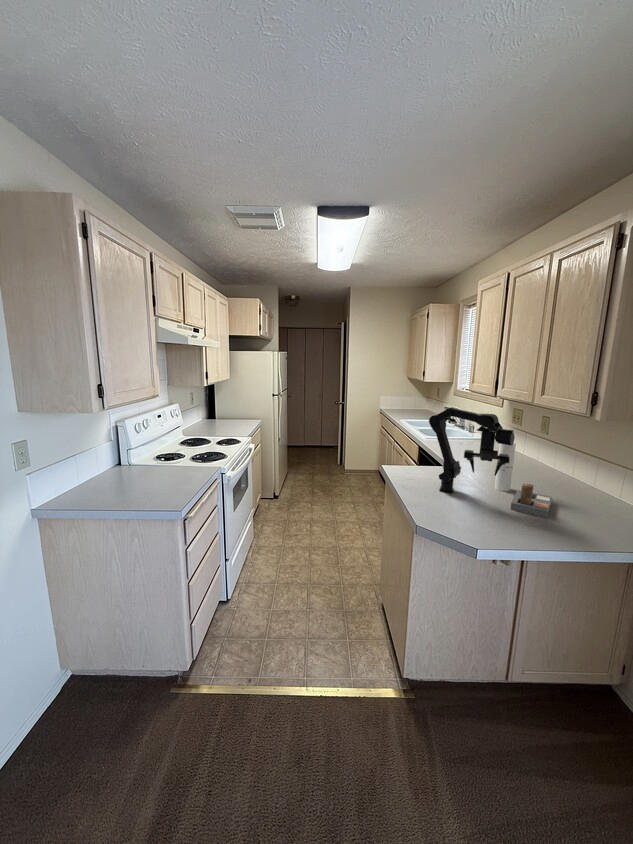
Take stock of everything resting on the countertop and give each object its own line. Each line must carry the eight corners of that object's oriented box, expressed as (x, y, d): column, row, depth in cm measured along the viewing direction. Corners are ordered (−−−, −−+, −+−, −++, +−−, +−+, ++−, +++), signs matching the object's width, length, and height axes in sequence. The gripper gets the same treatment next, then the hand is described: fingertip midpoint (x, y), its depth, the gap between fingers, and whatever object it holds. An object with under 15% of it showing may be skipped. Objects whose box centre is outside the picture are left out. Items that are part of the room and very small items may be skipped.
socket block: (510, 509, 155) (511, 502, 155) (516, 495, 171) (517, 489, 170) (547, 517, 147) (548, 510, 146) (550, 503, 163) (551, 496, 162)
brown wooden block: (519, 508, 156) (522, 485, 154) (520, 505, 159) (523, 483, 157) (529, 511, 153) (532, 487, 152) (530, 508, 157) (533, 485, 155)
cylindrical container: (512, 491, 176) (518, 443, 172) (496, 490, 177) (502, 443, 173) (507, 486, 183) (513, 440, 178) (492, 485, 184) (498, 439, 180)
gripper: (464, 442, 156) (461, 476, 159) (512, 447, 148) (508, 482, 151) (465, 438, 166) (462, 469, 169) (510, 442, 158) (506, 475, 161)
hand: (484, 474), depth 162 cm, fingers open, 9 cm apart
